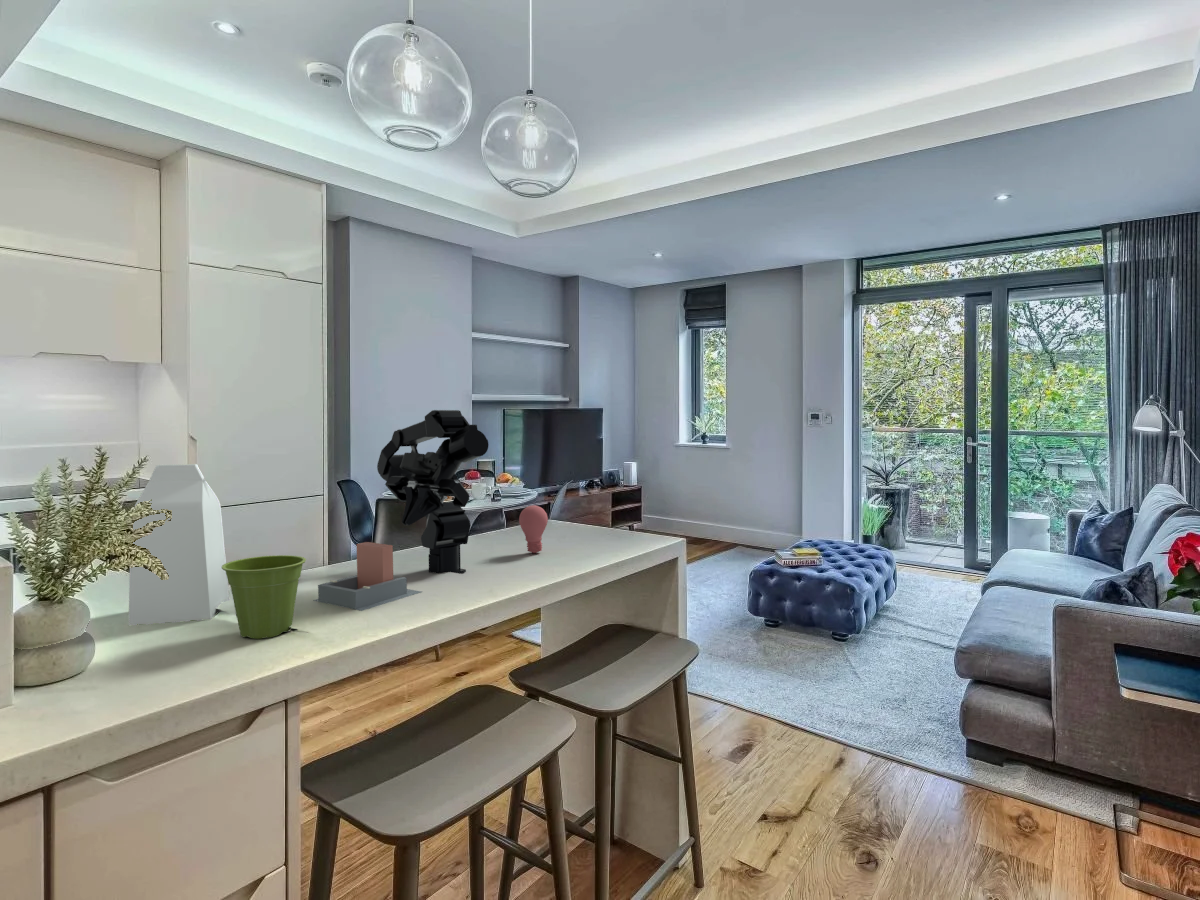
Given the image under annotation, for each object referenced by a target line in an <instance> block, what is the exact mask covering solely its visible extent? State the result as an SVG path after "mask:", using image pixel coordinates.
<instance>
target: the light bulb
mask: <svg viewBox="0 0 1200 900" xmlns="http://www.w3.org/2000/svg"><path fill="white" fill-rule="evenodd" d="M548 517H549V516H548V513H547V512H546V511H545V509H544V508H542V507H541V506H538V505H528V506H526V507H525V508H524V509H522V510H521V512H520V514H519V519H518V520H519V521H518V522H519V525H520V527H521V531H522V532H523V534H524V536H525V541H526V542H527V543H526V547H527V552H529V553H532V554H537V553H539V552H542V551H543V550H542V549H543V543H542V539H543V538H542V536H543V534H544V532H545V530H546V528H547V525H548V520H549V519H548Z"/></svg>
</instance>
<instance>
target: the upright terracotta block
mask: <svg viewBox="0 0 1200 900" xmlns="http://www.w3.org/2000/svg"><path fill="white" fill-rule="evenodd" d="M393 547H394V546H393V545H392V544H385V543H377V542H371V541H364V542H360V543H356V575H357V585H358V589H361V588H363V586H367V587H368V586H372V585H375V584H379V583H382V582H386V581H390V580H393V579H394V550H393Z"/></svg>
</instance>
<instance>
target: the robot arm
mask: <svg viewBox="0 0 1200 900" xmlns="http://www.w3.org/2000/svg"><path fill="white" fill-rule="evenodd" d="M461 412H462V411H461V410H458V409H455V410H454V409H434V410H433V409H432V410H430V411H429V412H428V413H427V414H426V415H424V420H422V421H419V422H417V423H414V424H412V425H410V426H407V427H403V428H401V429H400V428H398V429H397V430H394V431H393V433H392V436H391V440H390V441H388V443H387V444H386V445H385V446H384V447H382V449H381V451H380V454H379V457H378V461H377V465H376V466H377V467H376V468H377V472H378V474H379V476H380V477H381V479H383V480H384V481H385V484H384V485H385V486H386V488H387V489H388V490H389V491H390V492H391V493H392V494H393V495H394V497H396V499H397V500H398V501H400V502H402V503H405V506H404V511H403V515H402V519H401V523H402V524H403V525H404V526H411V525H413V524H414V523H417V521H420V520H422V519H423V518H426V523H425V524H426V526H425V529H424V531H423V532H422V534H421V536H420V540H421V546H422V547H423V548H427V549H429V551H428V552H429V554H428V573H433V574H444V573H454V574H462V573H465V572H467V570H466V569H465V568H461V545H467V544H468V541H469V536H470V531H471V521H470V518H469V516H468V515H467V514H466V513H465V512H466V509H464V508H465V507H466V506H467V504H468V503H469V501H470V493H469V492H468V491H467V489H466V488H465V486H463V484H462V483H461V481H460V480H459V479H458V476H457V475H456V472H457V471H458V469H459V468H460V466H461V464H462V463H468V462H470V461H473V460H475V459H477V458H480V457H482V456H484V455H485V454H486V453H487V452H488V449H489V440H488V439H487V437H486V435H485V434H484V433H483V431H482V430H481V431H480V430H478V425H477V424H470V423H469V422H468V421H467V419H466V417H465V416H464V415H462V413H461ZM435 438H438V439H444V440H443V441H442V442H441V444H440V445H439V447H438V449H436V452H434V451H427V452H426V453H421V452H420V453H419V450H418V444H420V443H424V442H427V441H430V440H433V439H435ZM401 447H410V448H411V451H410V452H404V453H403V454H397V452H398V451H399V449H400V448H401ZM448 497H453V498H454V499H453V500H452V501H447V502H446V501H445V500H447V499H448Z"/></svg>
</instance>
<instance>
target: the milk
mask: <svg viewBox="0 0 1200 900" xmlns="http://www.w3.org/2000/svg"><path fill="white" fill-rule="evenodd" d="M145 485H146V486H145V487H144V488H143V490H142V492H141V494H140V496H139V497H138V499H137V501H136V503H135V504H134V506H136V505H137V504H138V503H140V502H143V501H149V500H151V499H152V501H150V502H149V503H152V504H151V506H150V507H151V508H152V509H153V510H161V509H168V510H172V519H171V521H169V522H167V521H168V520H170V518H168V519H167V520H166V521H165V524H164V525H162V526H160V527H156V528H155V529H153V531H152V534H151V535H148V536H145V537H142V538H140V539H138V540H136V541H135V542H133V544H135V545H137V546H141V547H143V548H146V549H149V551H150V553H151V555H153V556H155V557H157V558H158V559H160V560H161V562H162V564H163V566H164V568H165V569H166V571H167V573H168V575H169V579H168V580H161V579H160V578H161V577H160V578H159V577H158V576H157V575H156V574H154V573H152V572H151V571H149V570H148V569H145V568H143V567H133V568H130V567H129V580H128V581H129V583H128V584H129V588H128V591H129V592H128V599H129V600H128V626H129V625H133V626H140V625H139V624H146V625H154V624H153V623H159V624H166V623H165V622H172V623H181V622H180V621H185V622H191V621H190V620H197V621H203V620H202V619H210V620H212V619H213V618H214V617H215V616H216V615H217V614H218V613H219V612H220V611H221V609H219V608H218V607H220V605H221V604H222V603H224V602H228V601H230V590H229V588H230V587H229V583H228V579H227V575H226V571H225V570H223V569H222V565H224V564H226V563H227V558H226V549H225V547H226V546H225V536H224V527H223V526H224V525H223V517H222V516H223V514H222V506H221V502H220V500H219V498H218V496H217V494H216V493H215V491H214V490H213V489H212V487H211V486H210V485H209V483H208V482H207V480H206V479H205V476H204V474H203V473H202V471H201V469H200V468H199V465H198V463H190V464H189V463H187V464H185V463H184V464H157V465H155V467H154V470H153V471H152V473H151V476H150V478H149V480H148V482H147V484H145ZM159 512H161V511H159ZM166 512H167V511H166ZM169 513H170V512H169ZM165 515H166V514H165V513H160V514H155V515H149V516H147V517H144V518H142V519H139V520H137V521H135V522H134V524H133V529H134V530H135V529H138V528H142V527H143V526H145V525H146V524H147V523H150V522H153V521H158V520H165V519H166V516H165ZM217 612H218V613H217ZM216 613H217V614H216ZM215 614H216V615H215ZM214 615H215V616H214ZM213 616H214V617H213ZM212 617H213V618H212ZM211 618H212V619H211ZM137 624H138V625H137Z"/></svg>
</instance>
